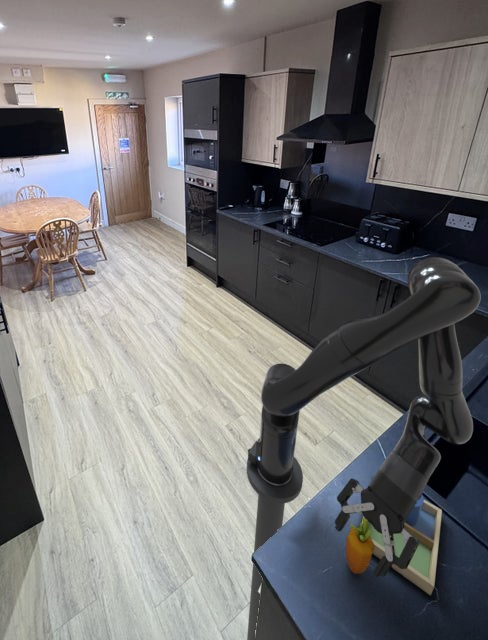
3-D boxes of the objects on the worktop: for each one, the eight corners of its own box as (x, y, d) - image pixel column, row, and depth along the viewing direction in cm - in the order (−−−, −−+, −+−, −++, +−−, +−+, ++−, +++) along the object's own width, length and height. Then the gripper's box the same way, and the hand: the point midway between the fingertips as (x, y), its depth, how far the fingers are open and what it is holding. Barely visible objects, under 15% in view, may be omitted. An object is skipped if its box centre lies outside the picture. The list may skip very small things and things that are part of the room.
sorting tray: (356, 542, 74) (358, 533, 73) (374, 480, 87) (376, 472, 86) (430, 596, 65) (434, 586, 64) (439, 518, 78) (442, 510, 77)
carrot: (355, 592, 66) (367, 546, 61) (335, 564, 70) (345, 518, 65) (372, 579, 68) (384, 533, 63) (352, 552, 72) (362, 507, 67)
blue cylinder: (386, 513, 79) (391, 494, 76) (391, 493, 83) (396, 474, 81) (415, 532, 75) (422, 512, 73) (419, 510, 79) (425, 491, 77)
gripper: (360, 451, 71) (319, 515, 70) (432, 514, 59) (385, 593, 58) (371, 457, 75) (332, 517, 74) (440, 517, 64) (396, 590, 62)
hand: (356, 551), depth 66 cm, fingers open, 8 cm apart
